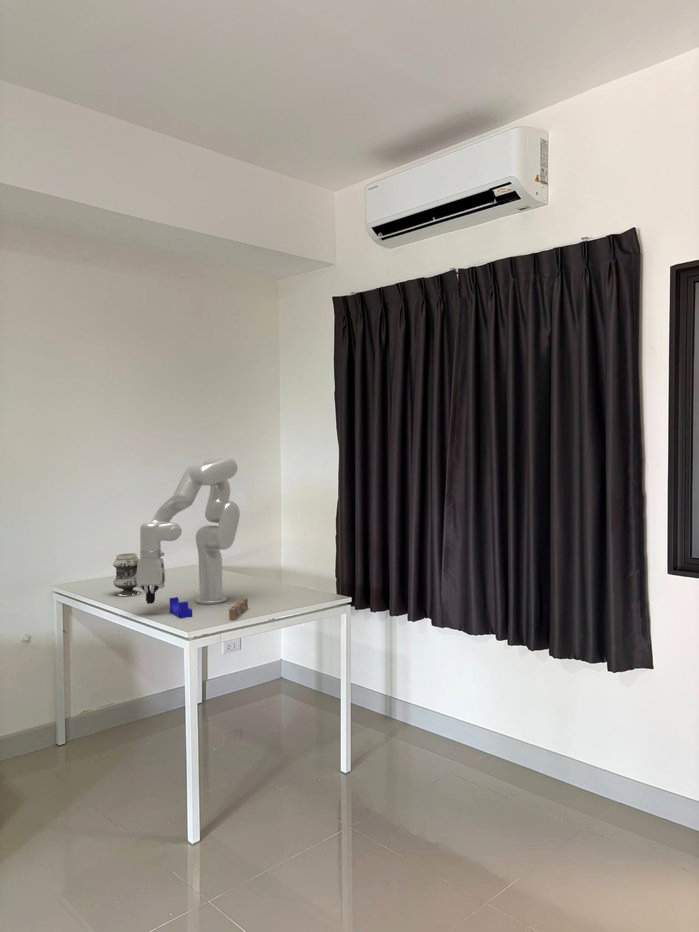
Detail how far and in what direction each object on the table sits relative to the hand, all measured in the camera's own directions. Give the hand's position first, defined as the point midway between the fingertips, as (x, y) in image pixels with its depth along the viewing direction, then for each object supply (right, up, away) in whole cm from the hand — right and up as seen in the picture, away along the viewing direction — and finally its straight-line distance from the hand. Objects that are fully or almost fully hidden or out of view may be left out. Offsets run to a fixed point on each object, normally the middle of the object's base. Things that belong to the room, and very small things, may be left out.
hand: (150, 603), depth 268 cm
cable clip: (+12, -5, -1) cm, 13 cm away
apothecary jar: (-22, -5, +43) cm, 49 cm away
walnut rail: (+34, -4, -3) cm, 35 cm away
